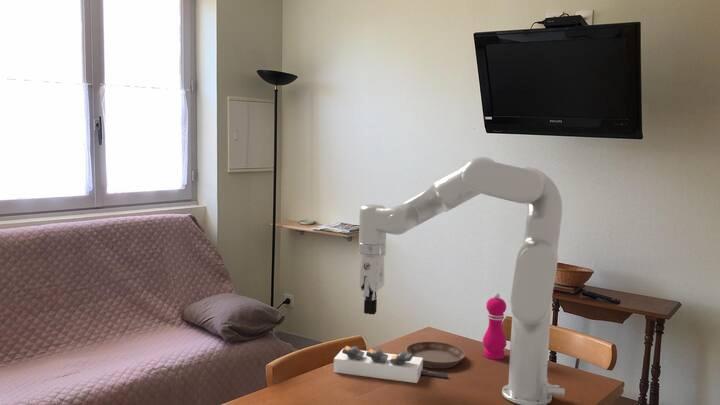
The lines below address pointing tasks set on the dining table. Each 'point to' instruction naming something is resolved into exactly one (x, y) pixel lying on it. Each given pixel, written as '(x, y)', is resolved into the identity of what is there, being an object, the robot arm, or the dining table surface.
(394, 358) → the switch
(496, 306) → the pepper mill
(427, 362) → the plant saucer
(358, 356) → the switch
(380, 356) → the switch middle
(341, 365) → the power strip
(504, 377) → the dining table surface
